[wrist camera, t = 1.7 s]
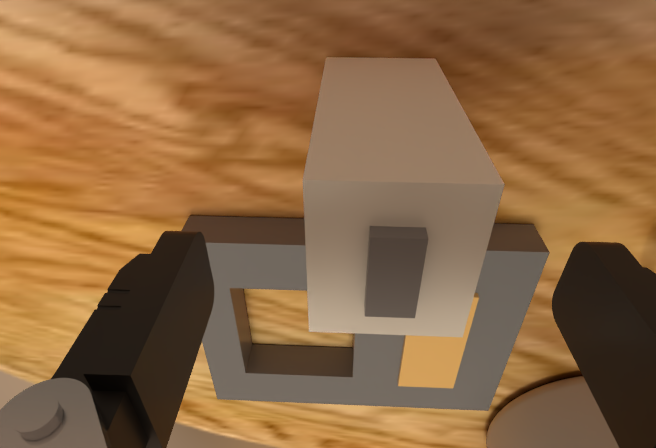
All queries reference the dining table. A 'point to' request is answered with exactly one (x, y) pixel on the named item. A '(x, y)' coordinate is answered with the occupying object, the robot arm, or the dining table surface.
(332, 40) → the dining table surface
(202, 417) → the dining table surface
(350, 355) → the plate
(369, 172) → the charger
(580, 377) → the cylinder vase
